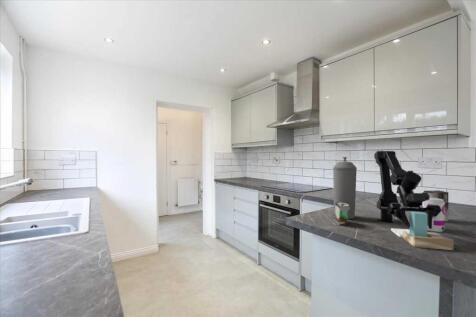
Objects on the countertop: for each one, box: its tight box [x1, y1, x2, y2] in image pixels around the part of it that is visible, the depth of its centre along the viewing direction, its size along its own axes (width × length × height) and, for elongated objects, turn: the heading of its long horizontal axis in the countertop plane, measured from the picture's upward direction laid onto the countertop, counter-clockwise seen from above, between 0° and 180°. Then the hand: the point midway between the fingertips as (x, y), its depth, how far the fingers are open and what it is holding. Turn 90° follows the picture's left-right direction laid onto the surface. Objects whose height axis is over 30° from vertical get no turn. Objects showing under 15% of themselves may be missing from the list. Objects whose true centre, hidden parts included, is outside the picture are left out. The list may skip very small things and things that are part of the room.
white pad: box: [390, 228, 410, 238], centre depth 105 cm, size 9×9×1 cm
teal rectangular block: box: [409, 211, 428, 237], centre depth 96 cm, size 4×4×12 cm
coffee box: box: [423, 189, 449, 222], centre depth 128 cm, size 9×6×16 cm
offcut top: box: [427, 231, 445, 238], centre depth 94 cm, size 7×4×2 cm, turn 165°
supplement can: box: [422, 198, 446, 233], centre depth 112 cm, size 8×8×15 cm
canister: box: [332, 156, 358, 220], centre depth 134 cm, size 13×13×35 cm
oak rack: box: [402, 231, 454, 251], centre depth 94 cm, size 10×13×4 cm
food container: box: [334, 202, 350, 226], centre depth 123 cm, size 12×6×10 cm, turn 168°
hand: (420, 227), depth 94 cm, fingers open, 7 cm apart
